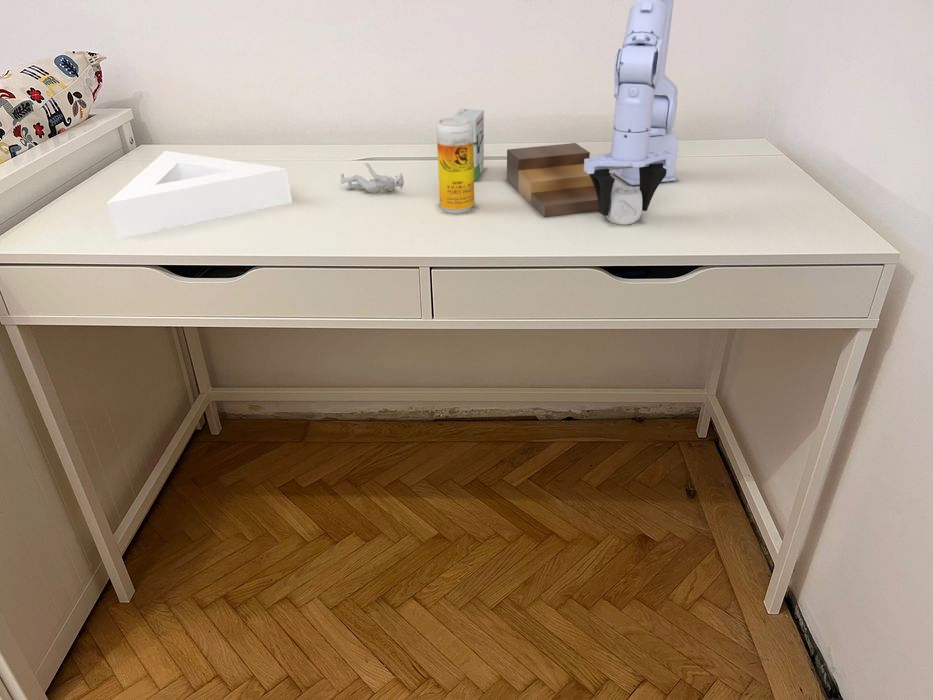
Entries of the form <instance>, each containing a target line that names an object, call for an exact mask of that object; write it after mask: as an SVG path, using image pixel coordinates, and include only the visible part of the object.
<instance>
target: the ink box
mask: <svg viewBox="0 0 933 700" xmlns="http://www.w3.org/2000/svg"><path fill="white" fill-rule="evenodd" d="M484 111H485V110H483V109H471V108H459V109H458V110H457V111H456V112H455V114H453V115H452V117H463V118H468V119H470V120H471V124H472V126H473V148H474V181H477V180H478V179H479V177H480V175H481V174H482V172H483V170H484V165H485V164H484V163H485V162H484V161H485V160H484V156H485V155H484V154H485V153H484V147H485V145H484V144H485V143H484V141H485V140H484V139H485V136H484V133H485V132H484V131H485V130H484V129H485V127H484V126H485V112H484Z"/></svg>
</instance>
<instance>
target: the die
mask: <svg viewBox="0 0 933 700" xmlns="http://www.w3.org/2000/svg"><path fill="white" fill-rule="evenodd" d="M642 213H643V210H642V193H641V191H640V190H639V187H635V186H633V185H617V186H613V188H612V192H611V196H610V208H609V214H608V216H606V218H607V221H609V222H610V223H612V224H615V225H621V226H622V225H624V226H625V225H626V226H627V225H632V224H635V223H636V222H638V221H639V220H641V217H642Z"/></svg>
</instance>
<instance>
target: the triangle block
mask: <svg viewBox="0 0 933 700" xmlns="http://www.w3.org/2000/svg"><path fill="white" fill-rule="evenodd" d="M291 203H293V197H292V189H291V183H290V179H289V172H288V168H286V167H279V166H272V165H266V164H258V163H250V162H244V161H239V160H230V159H225V158H217V157H211V156H204V155H197V154H189V153H182V152H178V151H177V152H176V151H169V150H164V151H163V152H162V153H161V154H160V155H159V156H158V157H157V158H155V159H154V160H153V161H152V162H151V163H150V164H148V166H146V167H145V168H144V169H143V170H142V171H141V172H139V173H138V174H137V175H136V176H135V177H134V178H133V179H131V181H130V182H129V183H127V184H126V185H125V186H123V188H122V189H120V190H119V191H118V192H117V193H116V194H114V195H113V196H112V197H111V198H110V199H109V200H108V201H106V203H105V204H106V207H107V210H108V214H109V217H110V221H111V225H112V227H113V231H114V234H115V237H116V240H117V241H119V240H124V239H128V238H133V237H139V236H142V235H148V234H152V233H156V232H161V231H166V230H171V229H175V228H180V227H184V226H189V225H193V224H194V225H195V224H198V223H203V222H207V221H212V220H216V219H221V218H226V217H227V218H228V217H231V216H236V215H240V214H246V213H250V212H254V211H259V210H263V209H268V208H269V209H270V208H273V207H277V206H282V205H287V204H291Z"/></svg>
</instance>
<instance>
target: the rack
mask: <svg viewBox="0 0 933 700" xmlns="http://www.w3.org/2000/svg"><path fill="white" fill-rule="evenodd" d="M588 158H591V152H590V151H588V150H587V149H586V148H584V147H582V146H580V145H579V143H576V142H570V143H561V144H559V143H558V144H549V145H540V146H529V147H517V148H508V149H506V182H508V183H509V184H510V185H511V186H512V187H513V188H514V189H515V190H516V191H517V192H518V193H520V195H521V196H522V197H523V198H524V199H525V200H526V201H527V202H529V204H530V205H531V206H533V207H534V209H536V211H537V212H539V214H540V215H542V216H543V217H544V218H548V217H549V218H550V217H557V216H565V215H566V216H567V215H573V214H574V215H575V214H582V213H591V212H599V205H598V199H597V194H596V191H595V188H594V185H593V182H592V180H591V178H590V175H589V174H588V173H586V172H585V171H584V159H588Z"/></svg>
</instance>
